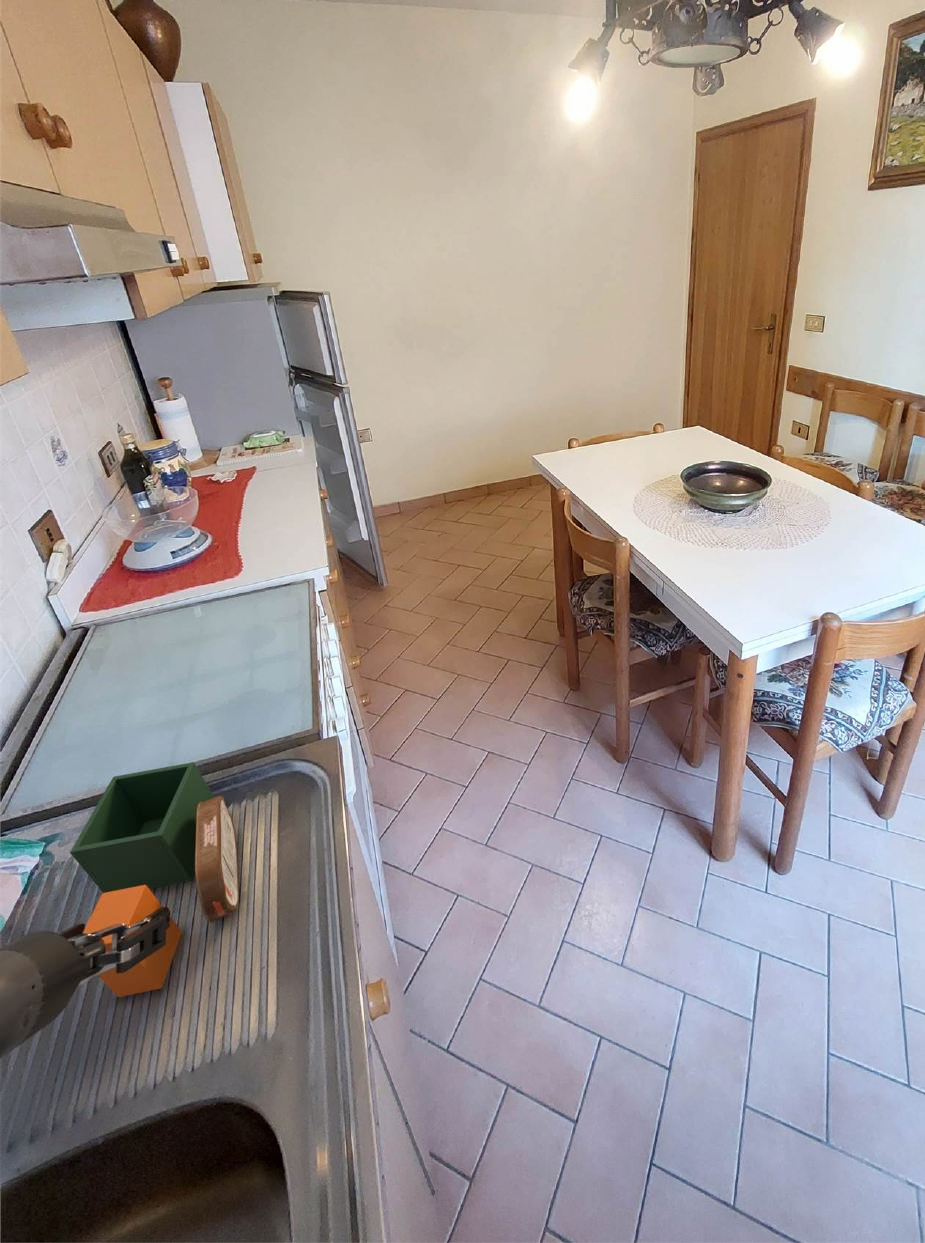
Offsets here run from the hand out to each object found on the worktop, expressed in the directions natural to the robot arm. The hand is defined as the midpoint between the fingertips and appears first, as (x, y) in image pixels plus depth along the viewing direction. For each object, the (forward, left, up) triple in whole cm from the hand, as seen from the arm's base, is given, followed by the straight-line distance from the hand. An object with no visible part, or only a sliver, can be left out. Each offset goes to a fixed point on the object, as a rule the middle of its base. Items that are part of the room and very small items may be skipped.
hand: (123, 926), depth 62 cm
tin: (+6, +9, -8) cm, 13 cm away
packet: (0, 0, -7) cm, 8 cm away
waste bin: (-4, +14, -7) cm, 16 cm away
